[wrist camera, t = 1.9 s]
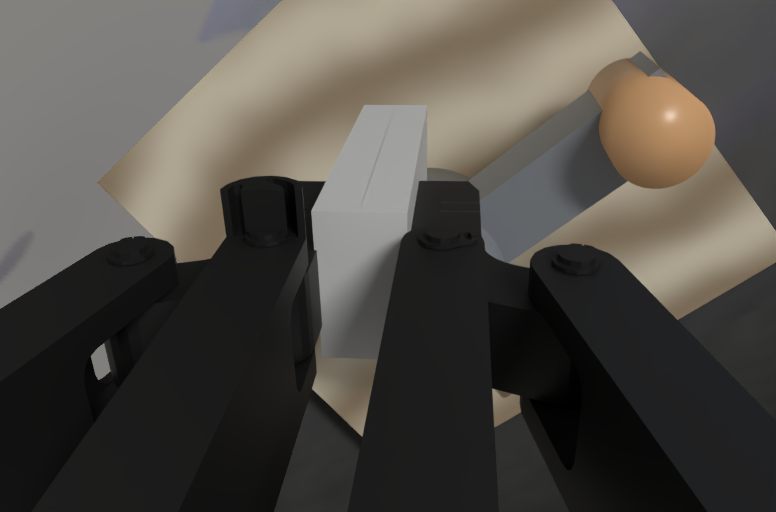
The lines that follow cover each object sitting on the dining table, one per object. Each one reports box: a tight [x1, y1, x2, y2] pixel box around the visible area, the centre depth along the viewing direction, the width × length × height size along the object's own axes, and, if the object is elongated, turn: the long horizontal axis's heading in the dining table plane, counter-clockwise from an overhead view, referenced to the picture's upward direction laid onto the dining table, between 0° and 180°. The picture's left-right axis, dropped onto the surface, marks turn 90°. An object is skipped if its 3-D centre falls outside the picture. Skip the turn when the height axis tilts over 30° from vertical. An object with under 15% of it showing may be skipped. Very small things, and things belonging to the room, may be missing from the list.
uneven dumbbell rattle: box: [427, 51, 715, 263], centre depth 31 cm, size 10×16×7 cm, turn 131°
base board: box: [97, 0, 776, 436], centre depth 38 cm, size 26×26×4 cm
